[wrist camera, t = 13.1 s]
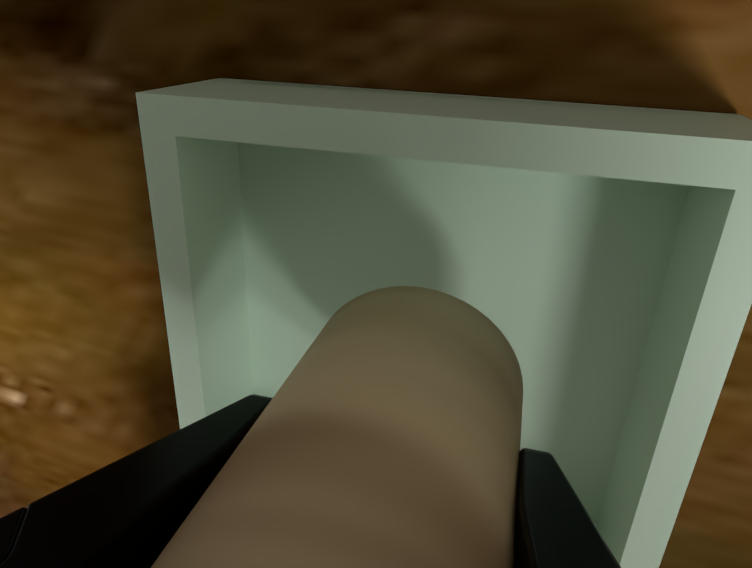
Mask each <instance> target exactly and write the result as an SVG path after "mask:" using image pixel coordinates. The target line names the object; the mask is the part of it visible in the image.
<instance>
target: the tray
mask: <svg viewBox="0 0 752 568" xmlns="http://www.w3.org/2000/svg"><path fill="white" fill-rule="evenodd" d="M136 101H137V109H138V116H139V124H140V131H141V139H142V146H143V154H144V161H145V169H146V176H147V184H148V191H149V199H150V206H151V214H152V222H153V229H154V237H155V244H156V252H157V259H158V267H159V274H160V282H161V289H162V297H163V304H164V312H165V320H166V327H167V335H168V342H169V350H170V357H171V365H172V372H173V380H174V387H175V395H176V402H177V410H178V417H179V425H180V429H182V428H184V427H186V426H188V425H190V424H192V423H194V422H196V421H198V420H200V419H202V418H204V417H206V416H208V415H210V414H212V413H214V412H216V411H218V410H220V409H222V408H224V407H226V406H228V405H230V404H232V403H234V402H236V401H238V400H240V399H242V398H244V397H246V396H249V395H252V394H256V395H261V396H266V397H271V398H273V397H274V396H275V394H276V393H277V391H278V390H279V389H280V387H281V386H282V384H283V383H284V382H285V380H286V379H287V377H288V376H289V375H290V373H291V372H292V371H293V369H294V368H295V366H296V365H297V364H298V362H299V361H300V359H301V358H302V357H303V355H304V354H305V352H306V351H307V350H308V348H309V347H310V346H311V344H312V343H313V341H314V340H315V339H316V337H317V336H318V334H319V333H320V332H321V330H322V329H323V327H324V326H325V325H326V323H327V322H328V321H329V320H330V318H331V317H332V316H333V315H334V313H335V312H337V311H338V310H339V309H340V308H341V307H342V306H343V305H345V304H346V303H348V302H349V301H351V300H352V299H354V298H356V297H358V296H360V295H362V294H364V293H367V292H370V291H373V290H377V289H381V288H387V287H394V286H413V287H423V288H428V289H433V290H437V291H440V292H443V293H446V294H449V295H452V296H454V297H456V298H458V299H460V300H462V301H465V302H466V303H468V304H469V305H471V306H473V307H474V308H476V309H478V310H479V311H480V312H481V313H483V314H484V315H485V316H486V317H488V318H489V319H490V320H491V321H492V322H493V323H494V324H495V325H496V326H497V327H498V328H499V329H500V331H501V332H502V333H503V335H504V336H505V337H506V339H507V340H508V342H509V343H510V345H511V347H512V349H513V350H514V352H515V355H516V357H517V360H518V362H519V365H520V369H521V374H522V378H523V406H522V425H521V444H520V450H521V449H523V448H530V449H535V450H540V451H545V452H548V453H550V454H552V455H553V457H554V458H555V460H556V462H557V463H558V465H559V467H560V468H561V470H562V471H563V473H564V475H565V476H566V478H567V480H568V481H569V483H570V485H571V486H572V488H573V489H574V491H575V493H576V494H577V496H578V498H579V499H580V501H581V503H582V504H583V506H584V507H585V509H586V511H587V512H588V514H589V516H590V517H591V519H592V521H593V522H594V524H595V526H596V527H597V529H598V530H599V532H600V534H601V535H602V537H603V539H604V540H605V542H606V544H607V545H608V547H609V548H610V550H611V552H612V553H613V555H614V557H615V558H616V560H617V562H618V563H619V565H620V566H621V568H659V566H660V563H661V560H662V557H663V554H664V551H665V549H666V546H667V543H668V540H669V537H670V534H671V532H672V529H673V526H674V523H675V520H676V517H677V515H678V512H679V509H680V506H681V503H682V500H683V497H684V495H685V492H686V489H687V486H688V483H689V480H690V478H691V475H692V472H693V469H694V466H695V463H696V461H697V458H698V455H699V452H700V449H701V446H702V443H703V441H704V438H705V435H706V432H707V429H708V426H709V424H710V421H711V418H712V415H713V412H714V409H715V406H716V404H717V401H718V398H719V395H720V392H721V389H722V387H723V384H724V381H725V378H726V375H727V372H728V370H729V367H730V364H731V361H732V358H733V355H734V352H735V350H736V347H737V344H738V341H739V338H740V335H741V333H742V330H743V327H744V324H745V321H746V318H747V316H748V313H749V310H750V307H751V304H752V120H751V119H749V118H747V117H745V116H743V115H741V114H728V113H714V112H700V111H685V110H671V109H657V108H643V107H628V106H614V105H600V104H585V103H571V102H557V101H543V100H528V99H514V98H500V97H485V96H471V95H457V94H443V93H428V92H414V91H400V90H385V89H371V88H357V87H342V86H328V85H314V84H300V83H285V82H271V81H257V80H242V79H228V78H217V79H211V80H205V81H199V82H194V83H188V84H182V85H176V86H171V87H165V88H159V89H153V90H147V91H142V92H136Z"/></svg>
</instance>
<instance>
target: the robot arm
mask: <svg viewBox="0 0 752 568" xmlns="http://www.w3.org/2000/svg"><path fill="white" fill-rule="evenodd" d="M271 400H272V398H271V397H266V396H261V395H256V394H252V395H249V396H246V397H244V398H242V399H240V400H238V401H236V402H234V403H232V404H230V405H228V406H226V407H224V408H222V409H220V410H218V411H216V412H214V413H212V414H210V415H208V416H206V417H204V418H202V419H200V420H198V421H196V422H194V423H192V424H190V425H188V426H186V427H184V428H182V429H180V430H178V431H176V432H174V433H172V434H170V435H168V436H166V437H164V438H162V439H160V440H158V441H156V442H153V443H151V444H149V445H147V446H145V447H143V448H141V449H139V450H137V451H135V452H133V453H131V454H129V455H127V456H125V457H123V458H121V459H119V460H117V461H115V462H113V463H111V464H109V465H107V466H105V467H103V468H101V469H99V470H97V471H95V472H93V473H91V474H89V475H87V476H85V477H83V478H81V479H79V480H77V481H75V482H73V483H71V484H69V485H67V486H65V487H63V488H61V489H59V490H56V491H54V492H52V493H50V494H48V495H46V496H44V497H42V498H40V499H38V500H36V501H34V502H32V503H30V504H29V505H28V507H27V508H25V507H22V508H20V509H18V510H16V511H14V512H12V513H10V514H8V515H6V516H4V517H2V518H0V568H151V566H152V565H153V564H154V562H155V561H156V559H157V558H158V557H159V555H160V554H161V552H162V551H163V550H164V548H165V547H166V545H167V544H168V543H169V541H170V540H171V539H172V537H173V536H174V534H175V533H176V532H177V530H178V529H179V527H180V526H181V525H182V523H183V522H184V520H185V519H186V518H187V516H188V515H189V514H190V512H191V511H192V509H193V508H194V507H195V505H196V504H197V502H198V501H199V500H200V498H201V497H202V495H203V494H204V493H205V491H206V490H207V489H208V487H209V486H210V484H211V483H212V482H213V480H214V479H215V477H216V476H217V475H218V473H219V472H220V470H221V469H222V468H223V466H224V465H225V464H226V462H227V461H228V459H229V458H230V457H231V455H232V454H233V452H234V451H235V450H236V448H237V447H238V445H239V444H240V443H241V441H242V440H243V439H244V437H245V436H246V434H247V433H248V432H249V430H250V429H251V427H252V426H253V425H254V423H255V422H256V421H257V419H258V418H259V416H260V415H261V414H262V412H263V411H264V409H265V408H266V407H267V405H268V404H269V402H270V401H271ZM514 568H621V566H620V565H619V563H618V562H617V560H616V558H615V557H614V555H613V553H612V552H611V550H610V548H609V547H608V545H607V544H606V542H605V540H604V539H603V537H602V535H601V534H600V532H599V530H598V529H597V527H596V526H595V524H594V522H593V521H592V519H591V517H590V516H589V514H588V512H587V511H586V509H585V507H584V506H583V504H582V503H581V501H580V499H579V498H578V496H577V494H576V493H575V491H574V489H573V488H572V486H571V485H570V483H569V481H568V480H567V478H566V476H565V475H564V473H563V471H562V470H561V468H560V467H559V465H558V463H557V462H556V460H555V458H554V457H553V455H552V454H550V453H548V452H545V451H540V450H535V449H530V448H523V449H521V450H520V453H519V471H518V490H517V508H516V531H515V558H514Z"/></svg>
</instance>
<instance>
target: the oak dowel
mask: <svg viewBox="0 0 752 568" xmlns="http://www.w3.org/2000/svg"><path fill="white" fill-rule="evenodd" d="M522 406H523V378H522V374H521V369H520V365H519V362H518V360H517V357H516V355H515V352H514V350H513V349H512V347H511V345H510V343H509V342H508V340H507V339H506V337H505V336H504V335H503V333H502V332H501V331H500V329H499V328H498V327H497V326H496V325H495V324H494V323H493V322H492V321H491V320H490V319H489V318H488V317H486V316H485V315H484V314H483V313H481V312H480V311H479V310H478V309H476V308H474V307H473V306H471V305H469V304H468V303H466V302H465V301H462V300H460V299H458V298H456V297H454V296H452V295H449V294H446V293H443V292H440V291H437V290H433V289H428V288H423V287H413V286H394V287H387V288H381V289H377V290H373V291H370V292H367V293H364V294H362V295H360V296H358V297H356V298H354V299H352V300H351V301H349V302H348V303H346V304H345V305H343V306H342V307H341V308H340V309H339V310H338V311H337V312H335V313H334V315H333V316H332V317H331V318H330V320H329V321H328V322H327V323H326V325H325V326H324V327H323V329H322V330H321V332H320V333H319V334H318V336H317V337H316V339H315V340H314V341H313V343H312V344H311V346H310V347H309V348H308V350H307V351H306V352H305V354H304V355H303V357H302V358H301V359H300V361H299V362H298V364H297V365H296V366H295V368H294V369H293V371H292V372H291V373H290V375H289V376H288V377H287V379H286V380H285V382H284V383H283V384H282V386H281V387H280V389H279V390H278V391H277V393H276V394H275V396H274V397H273V398H272V400H271V401H270V402H269V404H268V405H267V407H266V408H265V409H264V411H263V412H262V414H261V415H260V416H259V418H258V419H257V421H256V422H255V423H254V425H253V426H252V427H251V429H250V430H249V432H248V433H247V434H246V436H245V437H244V439H243V440H242V441H241V443H240V444H239V445H238V447H237V448H236V450H235V451H234V452H233V454H232V455H231V457H230V458H229V459H228V461H227V462H226V464H225V465H224V466H223V468H222V469H221V470H220V472H219V473H218V475H217V476H216V477H215V479H214V480H213V482H212V483H211V484H210V486H209V487H208V489H207V490H206V491H205V493H204V494H203V495H202V497H201V498H200V500H199V501H198V502H197V504H196V505H195V507H194V508H193V509H192V511H191V512H190V514H189V515H188V516H187V518H186V519H185V520H184V522H183V523H182V525H181V526H180V527H179V529H178V530H177V532H176V533H175V534H174V536H173V537H172V539H171V540H170V541H169V543H168V544H167V545H166V547H165V548H164V550H163V551H162V552H161V554H160V555H159V557H158V558H157V559H156V561H155V562H154V564H153V565H152V566H151V568H514V558H515V531H516V508H517V490H518V471H519V453H520V444H521V425H522Z"/></svg>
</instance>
